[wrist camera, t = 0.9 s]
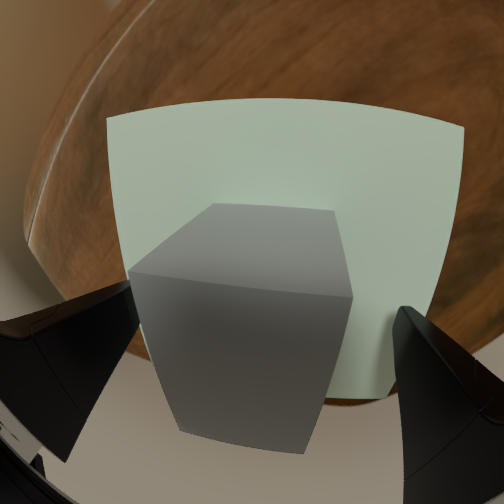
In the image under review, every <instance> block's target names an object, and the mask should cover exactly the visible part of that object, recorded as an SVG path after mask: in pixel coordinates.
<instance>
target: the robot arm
mask: <svg viewBox="0 0 504 504" xmlns="http://www.w3.org/2000/svg"><path fill="white" fill-rule="evenodd" d="M139 325H140V319H139V316H138V312H137V308H136V305H135V301H134V297H133V293H132V289H131V285H130V280H129V279H128V280H125V281H122V282H119V283H116V284H113V285H111V286H108V287H105V288H102V289H99V290H96V291H94V292H91V293H88V294H85V295H82V296H79V297H77V298H74V299H71V300H68V301H65V302H63V303H61V304H57V305H54V306H52V307H49V308H46V309H43V310H40V311H37V312H34V313H31V314H27V315H24V316H20V317H17V318H14V319H10V320H6V321H0V504H79V503H77V502H76V501H74V500H73V499H71V498H70V497H69V496H67V495H66V494H65V493H63V492H62V491H61V490H59V489H58V488H57V487H55V486H54V485H53V484H52V483H50V482H49V481H48V480H47V479H46V477H45V471H44V466H43V460H42V457H41V455H39V454H38V451H39V450H40V449H41V447H42V446H43V447H44V448H46V449H47V450H48V451H49V452H51V453H52V454H53V455H54V456H56V457H57V458H59V459H60V460H61V461H62V462H64V463H65V462H66V461H67V459H68V457H69V455H70V453H71V451H72V449H73V447H74V445H75V443H76V441H77V439H78V436H79V434H80V433H81V430H82V429H83V427H84V425H85V423H86V421H87V418H88V416H89V414H90V412H91V411H92V409H93V407H94V405H95V403H96V401H97V400H98V398H99V396H100V394H101V392H102V390H103V389H104V386H105V385H106V383H107V381H108V380H109V378H110V376H111V374H112V373H113V371H114V369H115V367H116V366H117V364H118V362H119V360H120V359H121V357H122V355H123V354H124V352H125V350H126V348H127V347H128V345H129V343H130V342H131V340H132V338H133V337H134V335H135V333H136V331H137V329H138V327H139ZM392 338H393V352H394V369H395V376H396V383H397V390H398V398H399V405H400V415H401V426H402V440H403V460H404V480H405V481H404V491H403V504H504V382H503V381H502V380H500V379H499V378H498V377H496V376H495V375H494V374H493V373H491V372H490V371H489V370H488V369H487V368H486V367H485V366H483V365H482V364H481V363H480V362H479V361H478V360H475V358H474V357H473V356H472V355H471V354H470V353H468V352H467V351H466V350H465V349H464V348H462V347H461V346H460V345H459V344H458V343H457V342H455V341H454V340H453V339H452V338H450V337H449V336H448V335H447V334H446V333H444V332H443V331H442V330H441V329H439V328H438V327H437V326H436V325H434V324H433V323H432V322H431V321H429V320H428V319H427V318H426V317H424V316H423V315H422V314H421V313H419V312H418V311H417V310H415V309H414V308H413V307H411V306H400V307H399V309H398V311H397V314H396V317H395V320H394V323H393V326H392Z"/></svg>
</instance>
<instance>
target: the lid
mask: <svg viewBox="0 0 504 504" xmlns="http://www.w3.org/2000/svg"><path fill="white" fill-rule="evenodd" d="M107 139H108V156H109V168H110V179H111V188H112V196H113V204H114V211H115V218H116V224H117V230H118V236H119V241H120V247H121V252H122V257H123V262H124V266H125V271H126V275H127V280H128V279H129V280H130V285H131V289H132V293H133V297H134V301H135V305H136V308H137V312H138V316H139V319H140V328H141V332H142V335H143V338H144V341H145V345H146V348H147V351H148V354H149V357H150V360H151V362H152V365H153V367H155V370H156V372H157V375H158V378H159V380H160V383H161V386H162V388H163V391H164V393H165V396H166V399H167V401H168V404H169V406H170V408H171V411H172V413H173V415H174V418H175V420H176V422H177V425H178V427H179V429H180V431H183V432H187V433H190V434H193V435H197V436H201V437H205V438H209V439H213V440H217V441H221V442H225V443H230V444H235V445H241V446H245V447H251V448H257V449H263V450H270V451H278V452H287V453H297V454H304V452H305V449H306V447H307V445H308V442H309V440H310V437H311V435H312V432H313V429H314V427H315V425H316V422H317V419H318V416H319V414H320V411H321V408H322V406H323V403H324V400H325V397H327V398H350V399H386V397H387V395H388V393H389V392H390V390H391V388H392V386H393V384H394V383H395V381H396V376H395V369H394V352H393V338H392V326H393V323H394V320H395V317H396V314H397V311H398V309H399V307H400V306H411V307H413V308H414V309H415V310H417V311H418V312H419V313H421V314H422V315H423V316H424V317H425V315H426V313H427V310H428V307H429V305H430V302H431V299H432V296H433V294H434V291H435V288H436V285H437V281H438V278H439V275H440V272H441V268H442V265H443V261H444V258H445V254H446V250H447V246H448V242H449V238H450V234H451V230H452V225H453V220H454V215H455V210H456V204H457V198H458V192H459V185H460V177H461V168H462V157H463V143H464V127H461V126H458V125H455V124H451V123H448V122H444V121H441V120H437V119H433V118H429V117H425V116H421V115H417V114H412V113H408V112H403V111H398V110H393V109H387V108H381V107H375V106H369V105H362V104H354V103H345V102H335V101H324V100H309V99H279V98H262V99H232V100H217V101H205V102H196V103H187V104H179V105H172V106H165V107H159V108H153V109H147V110H142V111H137V112H132V113H127V114H122V115H118V116H114V117H110V118H107Z"/></svg>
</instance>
